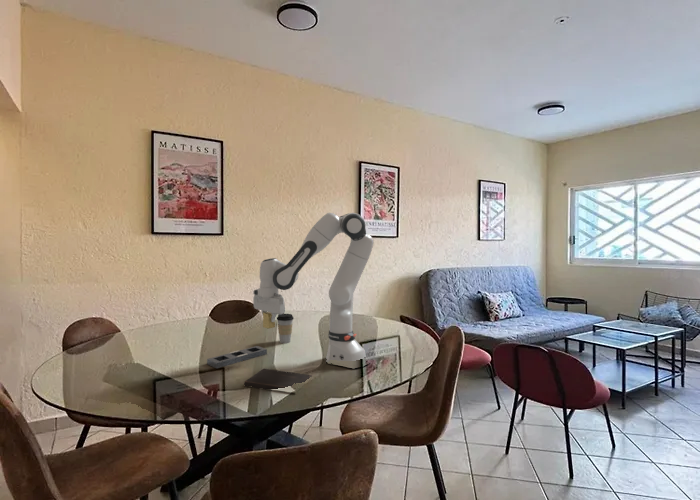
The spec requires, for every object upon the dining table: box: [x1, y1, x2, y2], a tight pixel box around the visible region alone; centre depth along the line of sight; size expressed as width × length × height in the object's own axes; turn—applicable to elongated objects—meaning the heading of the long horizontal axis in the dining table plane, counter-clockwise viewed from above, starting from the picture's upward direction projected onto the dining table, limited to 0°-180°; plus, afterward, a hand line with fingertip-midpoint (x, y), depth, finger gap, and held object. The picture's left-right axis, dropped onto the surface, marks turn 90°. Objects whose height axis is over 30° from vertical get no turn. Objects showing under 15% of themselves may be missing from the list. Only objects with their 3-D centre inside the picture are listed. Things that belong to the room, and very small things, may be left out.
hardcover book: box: [243, 368, 313, 390], centre depth 167 cm, size 16×23×2 cm
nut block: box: [262, 312, 276, 329], centre depth 193 cm, size 4×4×7 cm
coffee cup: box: [276, 313, 295, 344], centre depth 224 cm, size 9×9×15 cm
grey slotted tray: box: [206, 345, 268, 369], centre depth 195 cm, size 8×28×3 cm, turn 139°
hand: (269, 320), depth 193 cm, fingers closed on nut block, 4 cm apart
